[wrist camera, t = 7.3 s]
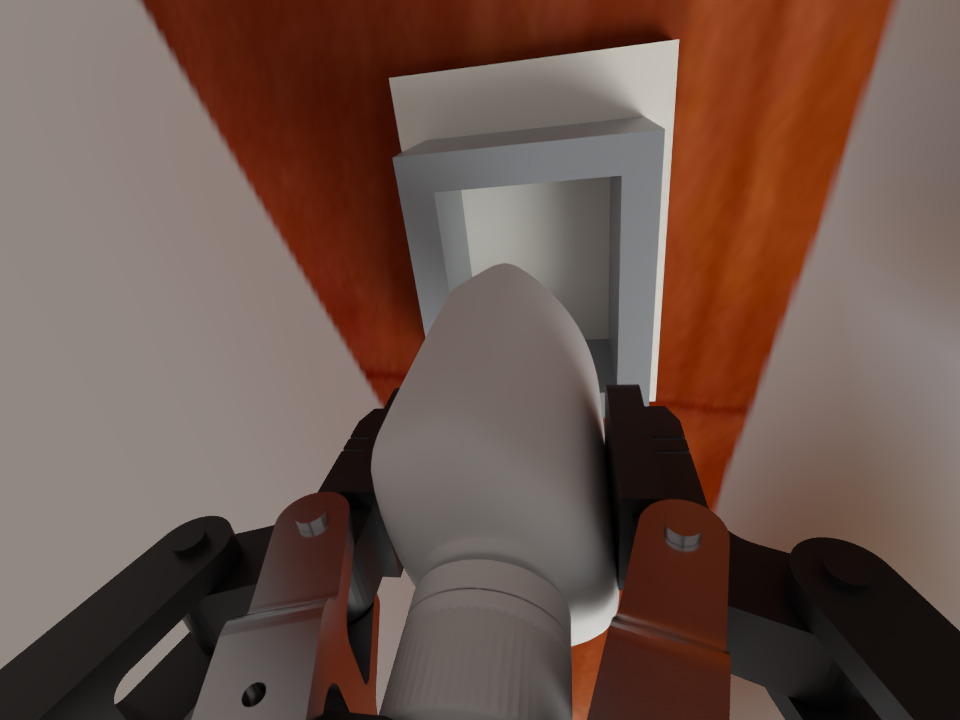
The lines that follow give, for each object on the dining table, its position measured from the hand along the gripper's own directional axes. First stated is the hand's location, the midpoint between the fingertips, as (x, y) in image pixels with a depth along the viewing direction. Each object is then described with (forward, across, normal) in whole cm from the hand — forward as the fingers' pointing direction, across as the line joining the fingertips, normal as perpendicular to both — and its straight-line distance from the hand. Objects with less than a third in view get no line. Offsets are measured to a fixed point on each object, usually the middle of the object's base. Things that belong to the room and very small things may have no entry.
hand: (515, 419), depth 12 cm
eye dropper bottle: (+4, 0, 0) cm, 4 cm away
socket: (+13, 0, 0) cm, 13 cm away
